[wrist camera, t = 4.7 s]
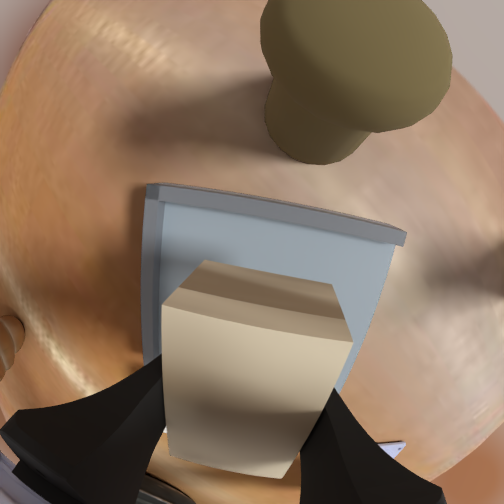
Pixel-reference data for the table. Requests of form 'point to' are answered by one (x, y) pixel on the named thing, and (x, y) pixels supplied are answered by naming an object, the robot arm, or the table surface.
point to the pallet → (248, 366)
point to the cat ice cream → (9, 341)
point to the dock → (261, 251)
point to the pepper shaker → (349, 72)
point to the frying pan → (160, 493)
